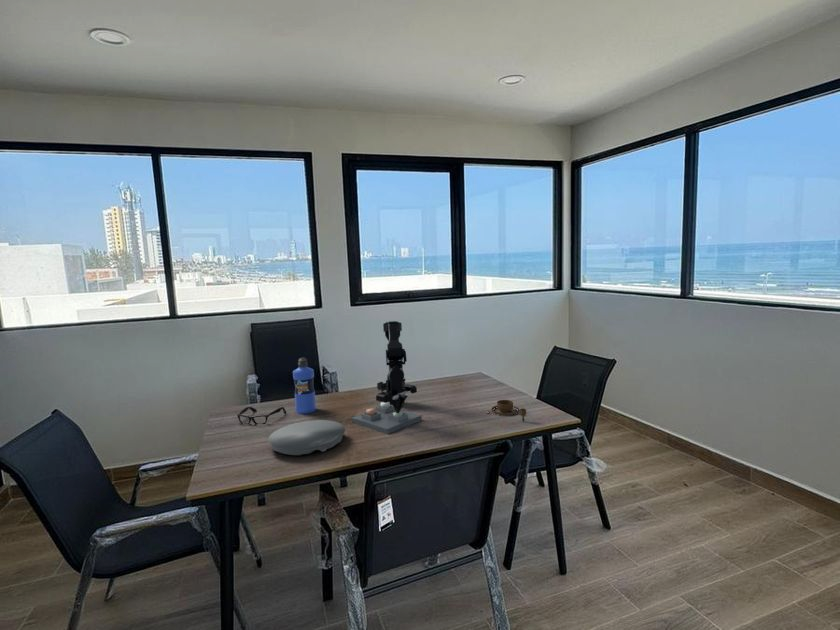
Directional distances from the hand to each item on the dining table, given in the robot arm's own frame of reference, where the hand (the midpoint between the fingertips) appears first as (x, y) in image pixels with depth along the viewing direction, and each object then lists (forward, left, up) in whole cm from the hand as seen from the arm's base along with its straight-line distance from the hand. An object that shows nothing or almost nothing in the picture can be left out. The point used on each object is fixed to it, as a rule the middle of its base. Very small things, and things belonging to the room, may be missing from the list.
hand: (397, 413), depth 187 cm
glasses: (+32, -55, -5) cm, 64 cm away
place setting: (-36, +30, -5) cm, 47 cm away
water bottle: (+14, -47, -5) cm, 49 cm away
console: (+1, -6, -4) cm, 7 cm away
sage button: (0, 0, -2) cm, 2 cm away
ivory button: (-4, -12, -1) cm, 13 cm away
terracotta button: (+6, -10, -1) cm, 12 cm away
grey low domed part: (+36, -12, -5) cm, 38 cm away
